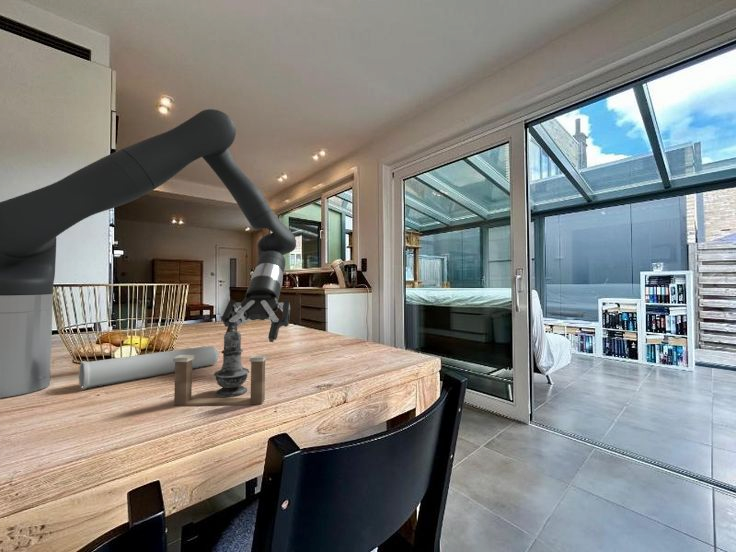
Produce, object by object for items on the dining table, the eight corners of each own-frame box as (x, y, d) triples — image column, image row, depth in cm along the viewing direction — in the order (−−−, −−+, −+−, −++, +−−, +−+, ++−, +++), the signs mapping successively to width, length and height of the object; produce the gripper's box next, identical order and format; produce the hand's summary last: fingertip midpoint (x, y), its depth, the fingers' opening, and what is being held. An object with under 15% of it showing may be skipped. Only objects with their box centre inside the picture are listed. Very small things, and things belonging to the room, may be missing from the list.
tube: (211, 345, 80) (78, 363, 61) (221, 341, 76) (84, 359, 57) (214, 367, 78) (79, 392, 59) (224, 363, 75) (84, 389, 56)
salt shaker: (242, 384, 61) (243, 322, 62) (253, 393, 57) (254, 326, 57) (209, 390, 58) (211, 325, 58) (218, 400, 53) (219, 328, 53)
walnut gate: (172, 405, 51) (173, 358, 51) (179, 400, 53) (180, 355, 53) (262, 404, 51) (263, 357, 52) (266, 399, 54) (266, 354, 54)
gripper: (232, 274, 76) (210, 329, 64) (292, 274, 76) (281, 329, 65) (240, 295, 81) (221, 350, 69) (296, 295, 82) (286, 349, 70)
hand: (250, 340), depth 67 cm, fingers open, 8 cm apart
